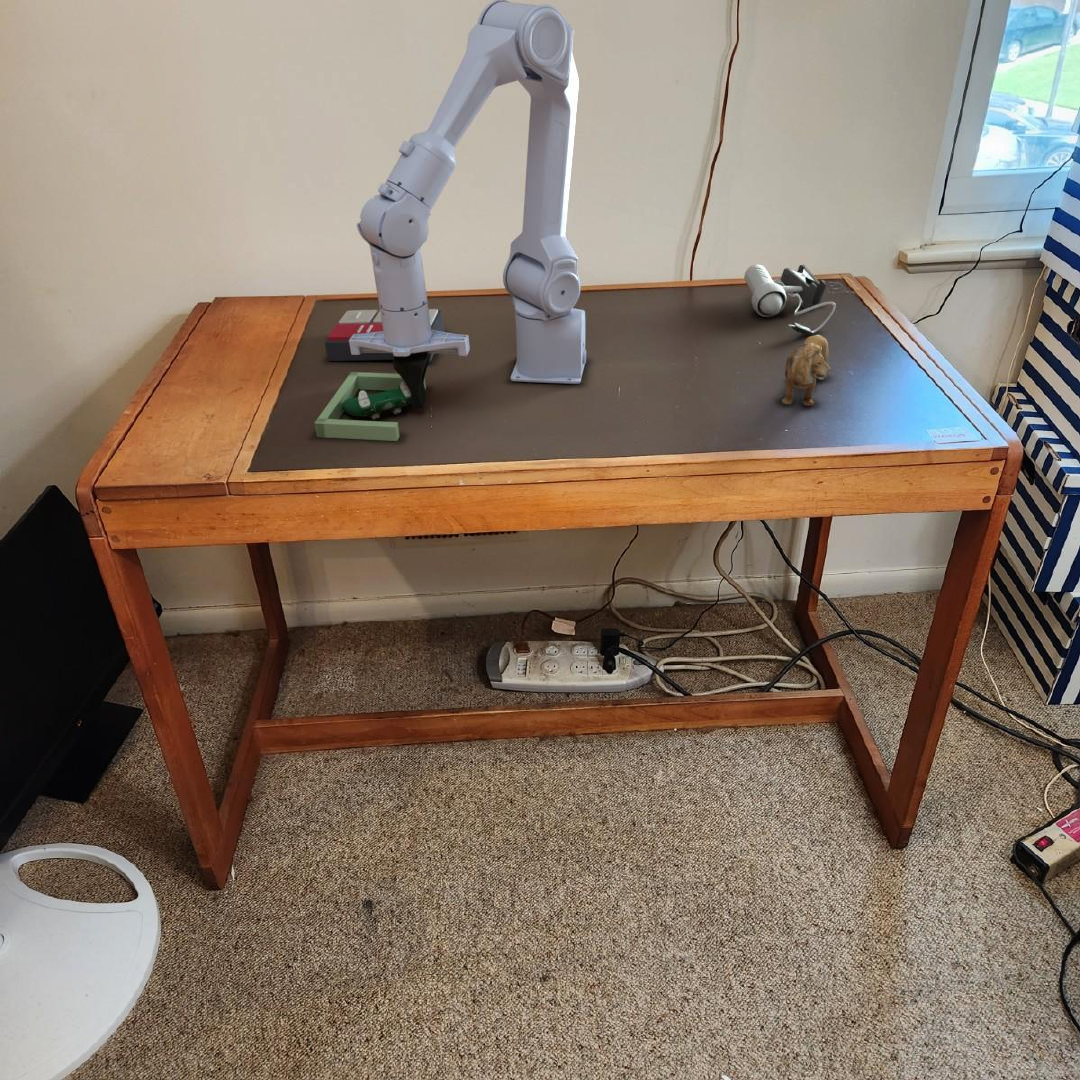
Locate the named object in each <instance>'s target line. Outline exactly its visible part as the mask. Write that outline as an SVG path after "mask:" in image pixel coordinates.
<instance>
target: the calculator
mask: <svg viewBox="0 0 1080 1080" xmlns="http://www.w3.org/2000/svg"><path fill="white" fill-rule="evenodd" d="M428 309H429V308H428ZM429 316H430V324H431V330H435V331H441V332H446V331H445V325H444V324H445V322H444V317H443V311H442V310H440V309H439V310H438V308H432V309H431V308H430V309H429ZM381 331H383V325H382V319H381V313H380V310H378V309H357V310H356V309H355V310H354V309H353V310H352V309H351V310H346V311H345V313H344V314H343V315H342V317H341V318H340V319H339V321H338V322H337V324H336V325H335V326H334V327H333V328H332V330H331V332H330V333H329V334H328V336H327V337H326V339H325V340H324V341H323V342H324V348H325V353H326V356H327V360H328V361H329V362H355V361H357V362H359V361H360V362H361V361H394V355H393V353H361V354H359V355H352V354H351V349H350V344H349V340H350V338H351V337H352V336H353V334H365V333H373V332H381ZM435 354H436V353H432V354H431V357H430V360H429V363H431V362H432V360H433V357H434V356H435Z"/></svg>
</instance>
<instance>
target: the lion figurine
mask: <svg viewBox="0 0 1080 1080" xmlns="http://www.w3.org/2000/svg"><path fill="white" fill-rule="evenodd" d="M828 358H829V342H828V340H827V339H826V338H825V337H823V336H822V335H821V334H816V335H809V336H808V337H807V338H805V340H804V341H803V343H802V344H800V345H797V346H796V347H795V348H794V350H793V351H792V353H790V354H789V356H788V357H787V360H786V363H785V369H784V377H785V397H784V398H782V399H781V402H782V404H783V405H788V406H790V405H791V404H792V403H793V401H794V388H797V389H805V391H804V394H803V396H802V401H803V405H804V406H806V407H812V406H814V404H815V402H814V401H813V392H814V390H815V387H816V384H817V383H816V382H817V381H816V380H817V379H818V381H819V380H820V381H824V380H826V379H827V374H828V373H829V371H831V369H832V367H831V366H830V365H829V364H828Z"/></svg>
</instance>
